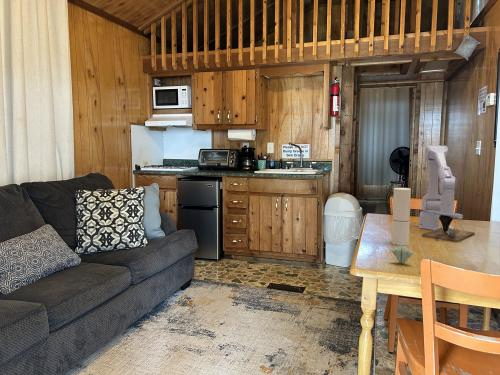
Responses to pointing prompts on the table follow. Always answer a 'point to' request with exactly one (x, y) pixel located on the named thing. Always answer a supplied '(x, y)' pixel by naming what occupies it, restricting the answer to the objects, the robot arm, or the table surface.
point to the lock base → (444, 236)
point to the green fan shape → (402, 254)
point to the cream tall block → (401, 216)
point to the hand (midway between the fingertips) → (445, 231)
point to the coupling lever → (451, 231)
